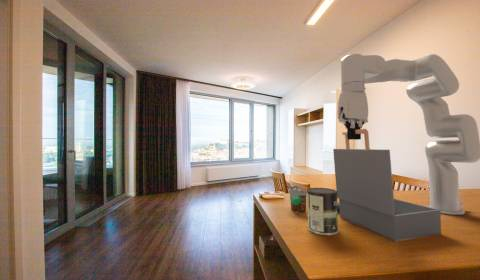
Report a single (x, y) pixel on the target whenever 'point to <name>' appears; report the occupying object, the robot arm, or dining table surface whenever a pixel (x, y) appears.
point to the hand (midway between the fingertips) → (354, 139)
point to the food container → (298, 199)
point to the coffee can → (322, 211)
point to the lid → (364, 176)
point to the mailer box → (395, 220)
